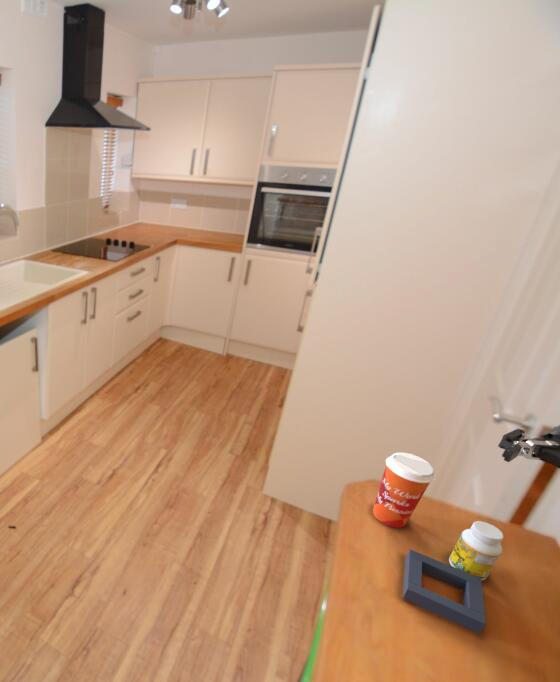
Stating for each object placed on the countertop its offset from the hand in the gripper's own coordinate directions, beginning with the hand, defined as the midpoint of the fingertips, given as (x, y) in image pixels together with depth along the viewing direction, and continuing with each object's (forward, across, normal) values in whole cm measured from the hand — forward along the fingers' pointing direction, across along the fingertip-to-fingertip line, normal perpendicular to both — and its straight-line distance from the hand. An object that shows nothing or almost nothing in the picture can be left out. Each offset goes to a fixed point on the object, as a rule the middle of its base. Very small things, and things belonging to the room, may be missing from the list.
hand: (539, 471), depth 79 cm
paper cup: (+10, +13, -18) cm, 25 cm away
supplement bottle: (+11, 0, -18) cm, 21 cm away
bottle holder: (+21, 0, -18) cm, 28 cm away
